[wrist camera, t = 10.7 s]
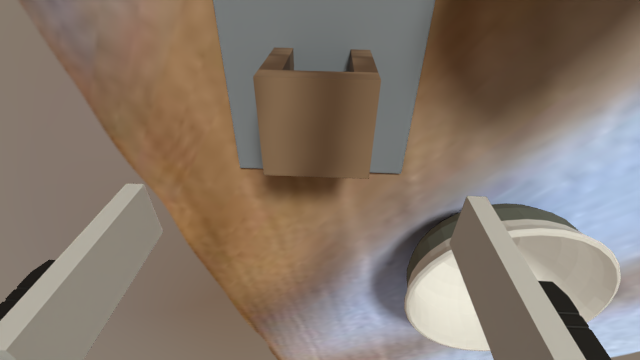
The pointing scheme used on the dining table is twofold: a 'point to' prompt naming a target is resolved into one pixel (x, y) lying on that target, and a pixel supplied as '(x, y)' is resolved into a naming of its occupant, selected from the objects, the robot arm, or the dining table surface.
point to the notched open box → (317, 117)
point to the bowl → (538, 251)
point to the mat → (326, 59)
